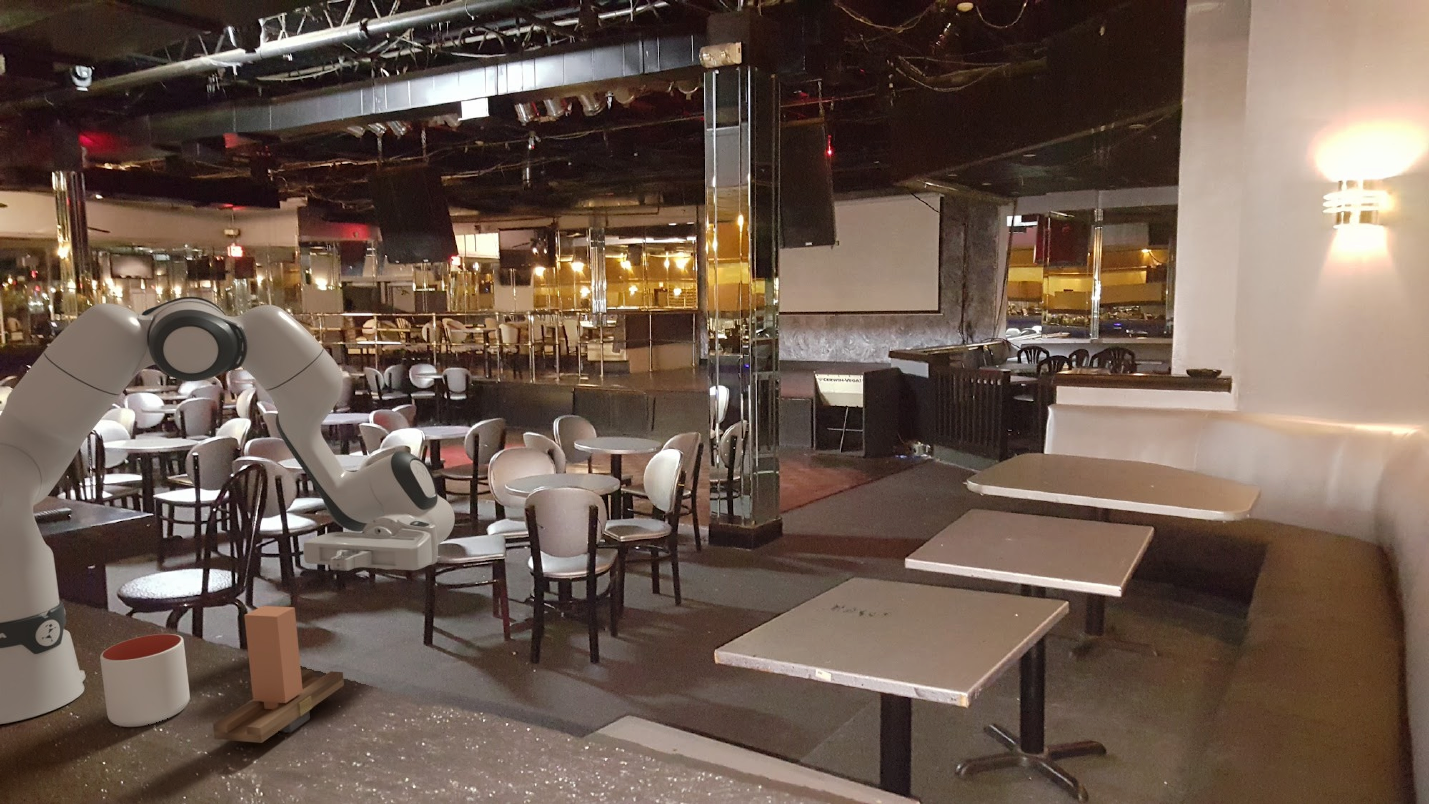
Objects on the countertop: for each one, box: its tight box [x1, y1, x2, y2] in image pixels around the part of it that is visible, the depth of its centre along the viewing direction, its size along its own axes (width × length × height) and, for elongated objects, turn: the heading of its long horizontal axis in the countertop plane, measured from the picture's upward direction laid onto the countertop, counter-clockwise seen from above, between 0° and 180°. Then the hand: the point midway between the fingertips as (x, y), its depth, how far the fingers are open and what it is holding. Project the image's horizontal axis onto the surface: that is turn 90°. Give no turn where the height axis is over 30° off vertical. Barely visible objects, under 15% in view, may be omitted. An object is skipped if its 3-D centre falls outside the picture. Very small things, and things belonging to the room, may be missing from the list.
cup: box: [99, 633, 191, 728], centre depth 129 cm, size 10×10×10 cm
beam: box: [212, 669, 345, 744], centre depth 124 cm, size 7×17×4 cm, turn 167°
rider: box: [244, 605, 303, 709], centre depth 123 cm, size 5×4×13 cm
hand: (338, 565), depth 137 cm, fingers closed
